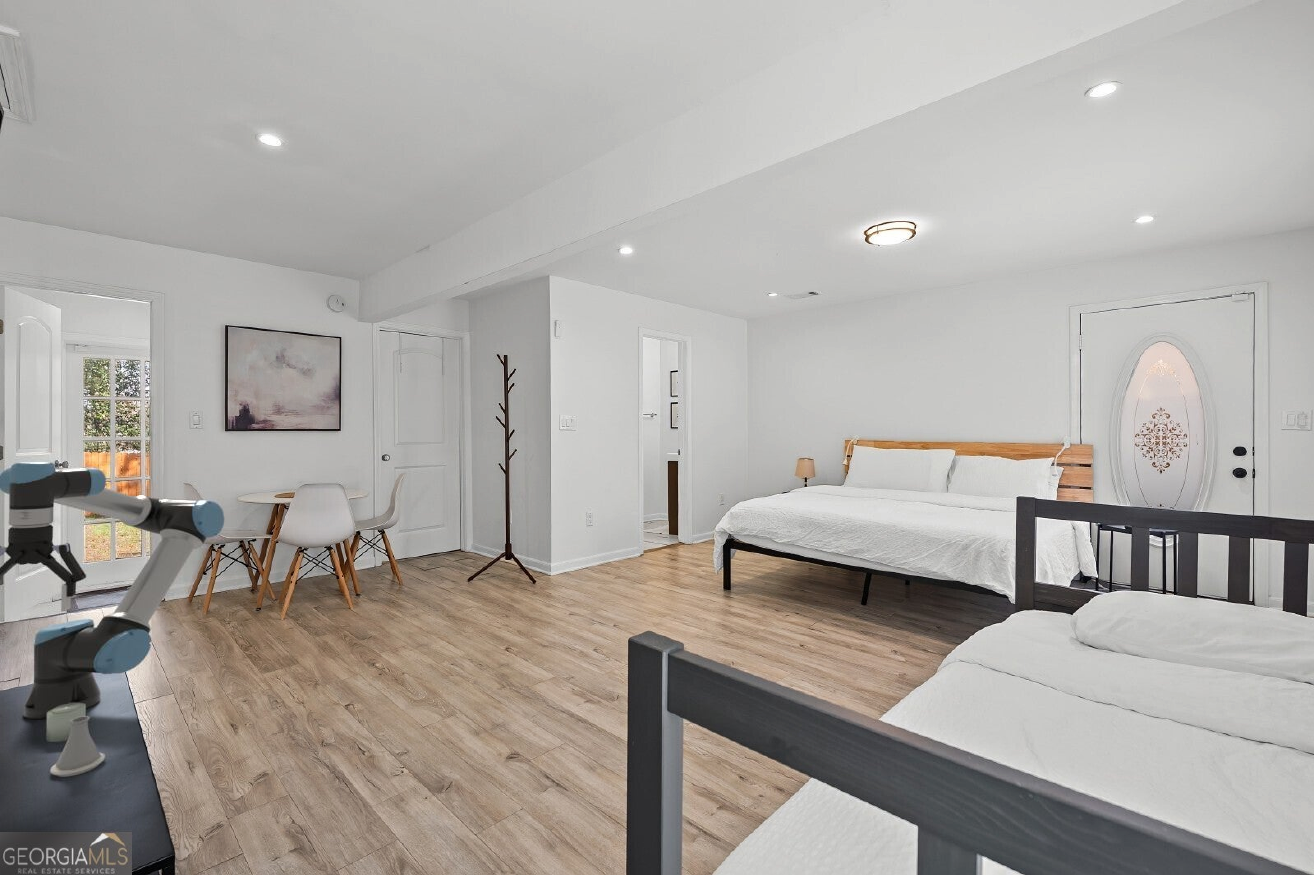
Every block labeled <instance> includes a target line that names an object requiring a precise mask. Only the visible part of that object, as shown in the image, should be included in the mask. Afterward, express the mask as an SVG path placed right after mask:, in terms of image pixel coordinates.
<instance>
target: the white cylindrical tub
mask: <svg viewBox="0 0 1314 875" xmlns="http://www.w3.org/2000/svg"><path fill="white" fill-rule="evenodd" d="M86 709H87V708H86V705H85V704H84V703H68V704H64V705H60V706H57V707H55V708H54V709H51V710H50V711H48V712H47V718H46V741H47V742H48V743H58V742H59V743H60V742H64V741H68V738H69V735H70V732H71V723H70V722H69V721H70V720H72V719H74V718H77V717H80V716H86Z"/></svg>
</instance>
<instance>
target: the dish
mask: <svg viewBox="0 0 1314 875" xmlns="http://www.w3.org/2000/svg"><path fill="white" fill-rule="evenodd" d="M99 753H100V755H101V757H100V758H98V759H97V760H95V761H94V762H92V763H90V764H87V765H85V766H82V767H79V768H76V769H63V770H60V769H59V768H57V767H56V763H55V764H53V765H52V767H51V768H50V772H49V773H50V774H51V775H53V776H56V777H60V778H66V777H73V776H77V775H81V774H84V773H87V772H89V771H92V770H93V769H95V768H97V767H99V765H100V764H101V763H103V762H104V760H105V758H106V754H105V753H103V752H100V751H99Z"/></svg>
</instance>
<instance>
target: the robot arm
mask: <svg viewBox="0 0 1314 875" xmlns="http://www.w3.org/2000/svg"><path fill="white" fill-rule="evenodd" d="M106 480H107V478H106V475H105V473H104V472H103V471H102V470H101V469H100V468H97V467H85V466H83V467H56V466H55V464H54V462H49V461H20V462H19V461H18V462H15V463H13V464H12V465H11V467H8V468H6V469H5V470H4V471H2V472H1V473H0V490H1V491H2V492H3V493H5V494H7V495H8V496H9V497H8V498H9V499H8V500H9V501H8V502H9V504H8V506H9V507H8V508H9V509H8V525H9V526H11V527H9V529H8V536H7V538H8V539H7V540H8V541H7V542H8V545H7V547H6V546H1V545H0V557H1V556H3V555H5V553H6V555H7V556H9V557H10V558H9V559H7V560H6V561H5V562H4V563H3V565H1V566H0V579H1V578H2V577H3V576H4V575H6V574H7V573H8V572H9V571H10V570H12V568H13V567H15V566H16V565H18V566H19V565H20V566H23V565H29V564H30V565H38V564H42V566H45V567H46V568H48V569H49V570H50V571H51V572H53V574H55V575H57V577H58V578H60V579H61V580H62V581H63V582H64V583H63V584H61V603H60V606H61V607H60V611H61V612H67V611H69V610H70V609H71V605H72V603H71V600H72V599H71V598H72V597H74V596H75V595H76V593H77V592H76V590H77V582H80V581H81V582H82V580H85V579H86V578H87V574H86V573H85V571H84V570H83V568H82V567H81V566H80V564H79V562H78V561H77V559H76V558H75V556H74V554H73V552H72V551H71V544H70V543H68V542H66V543H63V544H56V545H54V543H53V540H54V526H53V525H52V524H53V523H54V504H58V505H62V506H66V507H69V508H74V509H77V510H80V511H85V512H89V513H93V514H97V515H99V516H100V515H101V516H104V517H107V518H108V517H109V518H112V519H116V520H119V521H120V522H122V524H123V525H124V526H125V525H126V526H128V527H129V526H130V527H132V528H136V529H139V530H143V531H146V532H150V533H154V534H157V535H160V537H161V540H160V542H159V543H158V545H157V546H156V548H155V550H154V551H153V552H152V554H151V555H150V557H149V558H148V560H147V561H146V563H145V564H144V566H143V567H142V569H141V570H140V572H139V573H138V575H137V577H136V578H135V580H134V581H133V582H132V584H131V586H130V587H129V588H128V590H127V591H126V594H125V595H124V596H123V598H122V600H120V602H119V604H118V605H117V607H116V608H115V610H114V611H113V612H112V613H110V614H108V615H104V616H103V617H102V618H101V620H100V621H99V623H98V625H97V626H96V627H95V622H94V620H93V619H90V618H88V619H87V618H84V619H77V620H71V621H65V622H62V623H57V624H52V625H49V626H47V627H46V626H45V627H44V628H42V629H39V631H38V632H36V634H35V638H34V644H33V685H32V688H31V690H30V692H29V694H28V696H27V699H26V700H25V701H26V702H25V703H24V706H23V717H24V718H26V719H31V720H32V719H33V720H35V719H36V720H38V719H39V720H41V719H47V712H48V711H50V710H51V709H54V708H55V707H57V706H60V705H64V704H68V703H84V704H85V705H86V709H89V708H90V707H93V706H94V705H96V704H97V703H98V702H99V701H100V700H101V689H100V688H99V685H98V683H97V681H96V679H95V675H94V673H96V674H102V675H112V674H123V673H127V672H129V671H131V670H133V669H135V668H137V667H138V666H139V665H140V664H141V663H142V662H143V661H144V660H145V659H146V657H147V656H148V655H149V652H150V650H151V647H152V645H151V644H150V643H151V642H152V638H151V635H150V634H149V633H150V632H151V630H152V627H151V626H150V620H151V619H152V618H153V616H154V614H155V612H156V611H157V609H158V608H159V606H160V604H161V603H162V601H163V599H164V597H165V596H166V595H167V593H168V591H169V590H170V588H171V587H172V584H173V583H174V581H175V579H176V578H177V576H178V575H179V573H180V572H181V570H182V568H183V567H184V565H186V564H185V563H186V562H187V560H188V559H189V557H190V556H191V554H192V552H193V550H195V549H198V548H202V546H203V545H204V543H205V542H206V540H207V538H215V537H217V536H218V535H219V534H220V533H221V532H222V530H223V528H224V524H225V516H224V510H223V508H222V507H221V505H219V503H217V502H215V501H214V500H213V501H212V500H206V499H202V498H201V499H184V498H183V499H181V498H177V499H176V498H157V497H148V496H145V495H135V496H132V495H129V494H127V493H123V492H120V491H118V490H113V489H110V488H107V487H106V486H107V481H106ZM54 551H55V552H56V553H57V554H59V557H60V558H61V559H62V561H63V562H64V564H65V566H66V567H67V568H68V570H67V569H66V568H65V566H63V565H62V564H61V563H60V562H58V560H57V559H56V558H55V556H53V555H52V553H53V552H54Z"/></svg>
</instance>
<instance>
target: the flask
mask: <svg viewBox="0 0 1314 875" xmlns="http://www.w3.org/2000/svg"><path fill="white" fill-rule="evenodd" d="M89 720H90V716H89V715H85V716H80V717H77V718H74V719H72V720H70V721H69V722H70V723H71V732H70V735H69V738H68V740H66V743H65V746H64V747H63V750H62V751H61V753H60V755H59V757H58V759H57V762H56V763H55V764H56V767H57V768H59V769H60V770H63V769H76V768H79V767H82V766H85V765H87V764H90V763H92V762H94V761H95V760H97V759H98V758H100V757H101V755H100V753H101V752H100V751H99V750H98V748H97V746H96V745H95V743H94V740H93V738H92V736H91V735H90V729H89V726H88V725H89V723H88V722H89ZM99 752H100V753H99Z"/></svg>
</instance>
